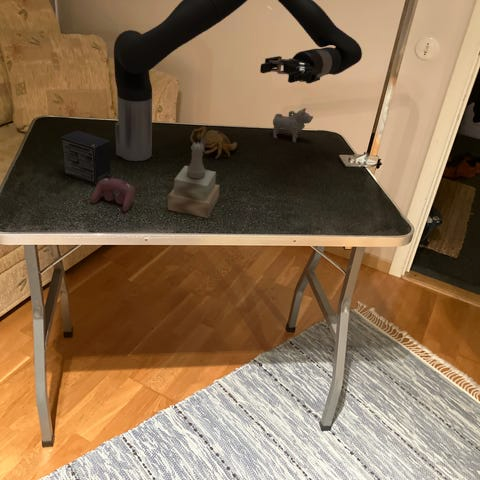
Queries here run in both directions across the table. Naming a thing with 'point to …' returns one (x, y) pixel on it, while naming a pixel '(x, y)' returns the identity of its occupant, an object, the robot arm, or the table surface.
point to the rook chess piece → (196, 162)
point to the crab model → (213, 141)
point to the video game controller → (111, 185)
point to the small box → (86, 157)
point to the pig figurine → (291, 122)
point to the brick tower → (194, 194)
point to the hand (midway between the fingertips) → (275, 73)
